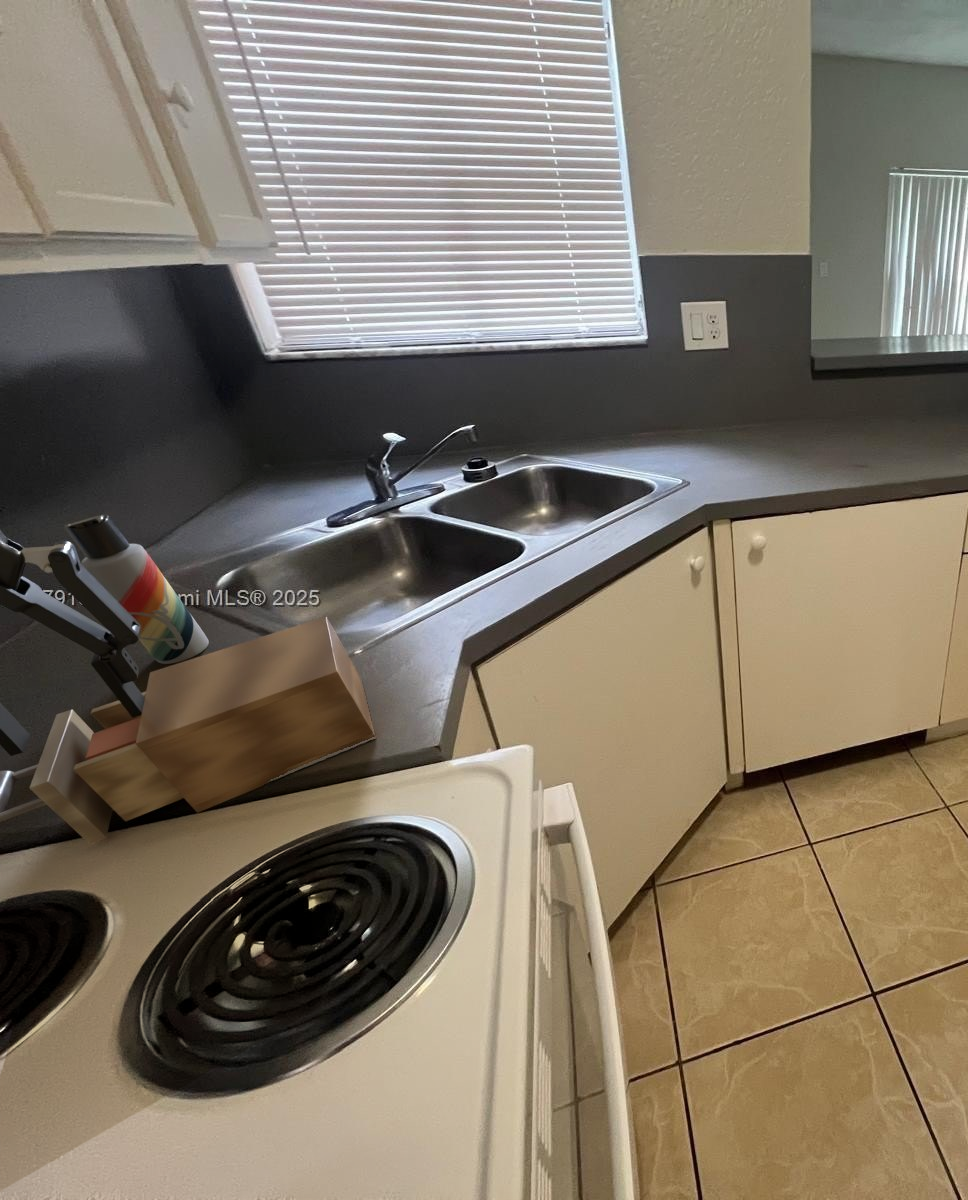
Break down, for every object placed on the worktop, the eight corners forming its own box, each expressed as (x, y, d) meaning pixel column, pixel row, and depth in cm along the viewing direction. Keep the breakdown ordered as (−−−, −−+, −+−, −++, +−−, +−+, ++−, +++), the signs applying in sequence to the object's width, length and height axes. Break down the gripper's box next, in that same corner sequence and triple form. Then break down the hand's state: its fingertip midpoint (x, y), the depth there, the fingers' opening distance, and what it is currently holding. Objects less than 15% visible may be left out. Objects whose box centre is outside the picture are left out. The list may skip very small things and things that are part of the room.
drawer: (1, 880, 55) (-71, 824, 51) (31, 796, 63) (-29, 741, 59) (278, 768, 65) (237, 712, 61) (274, 707, 73) (238, 654, 69)
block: (122, 796, 61) (85, 758, 58) (127, 771, 64) (92, 733, 61) (174, 776, 63) (141, 738, 60) (177, 753, 66) (145, 715, 63)
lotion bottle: (166, 670, 81) (59, 533, 70) (149, 656, 84) (43, 522, 73) (217, 646, 85) (123, 513, 74) (200, 634, 88) (107, 504, 77)
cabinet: (197, 813, 62) (135, 743, 57) (202, 738, 71) (149, 672, 65) (376, 739, 70) (337, 671, 64) (362, 679, 78) (326, 615, 73)
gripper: (-384, 560, 39) (-97, 805, 51) (70, 483, 49) (218, 703, 61) (-311, 518, 44) (-66, 751, 56) (86, 457, 54) (220, 665, 66)
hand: (82, 725), depth 59 cm, fingers open, 7 cm apart
